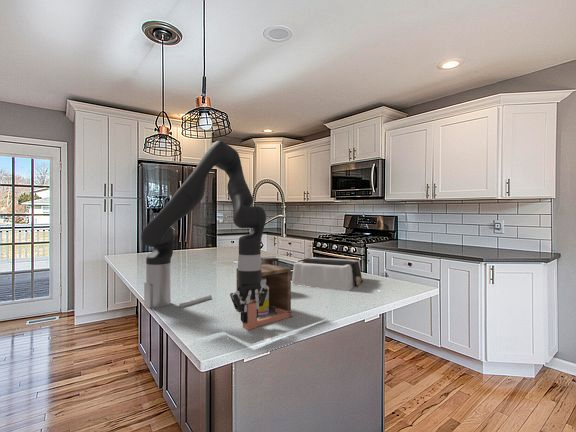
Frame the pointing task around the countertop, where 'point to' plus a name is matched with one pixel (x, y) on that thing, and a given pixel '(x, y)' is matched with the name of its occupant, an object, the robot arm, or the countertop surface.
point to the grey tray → (327, 273)
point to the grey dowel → (195, 301)
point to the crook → (253, 321)
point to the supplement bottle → (265, 308)
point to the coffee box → (270, 261)
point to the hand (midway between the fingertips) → (249, 321)
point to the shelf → (276, 285)
